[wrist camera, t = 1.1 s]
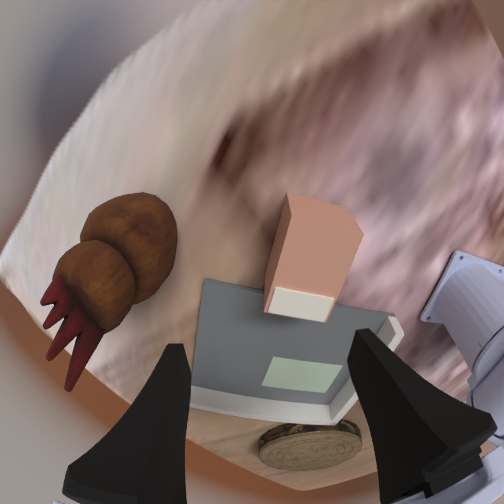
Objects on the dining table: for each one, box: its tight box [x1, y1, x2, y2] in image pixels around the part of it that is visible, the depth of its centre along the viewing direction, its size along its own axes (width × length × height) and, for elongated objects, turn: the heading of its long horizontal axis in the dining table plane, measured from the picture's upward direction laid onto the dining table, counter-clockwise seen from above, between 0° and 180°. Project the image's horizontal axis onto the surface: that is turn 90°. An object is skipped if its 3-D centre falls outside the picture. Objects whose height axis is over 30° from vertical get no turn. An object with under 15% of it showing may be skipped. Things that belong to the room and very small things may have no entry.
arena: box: [189, 278, 405, 425], centre depth 27 cm, size 18×16×3 cm
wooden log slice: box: [258, 419, 362, 471], centre depth 36 cm, size 16×16×3 cm
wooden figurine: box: [40, 192, 177, 392], centre depth 15 cm, size 7×6×15 cm
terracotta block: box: [264, 193, 364, 323], centre depth 20 cm, size 4×7×5 cm, turn 168°
